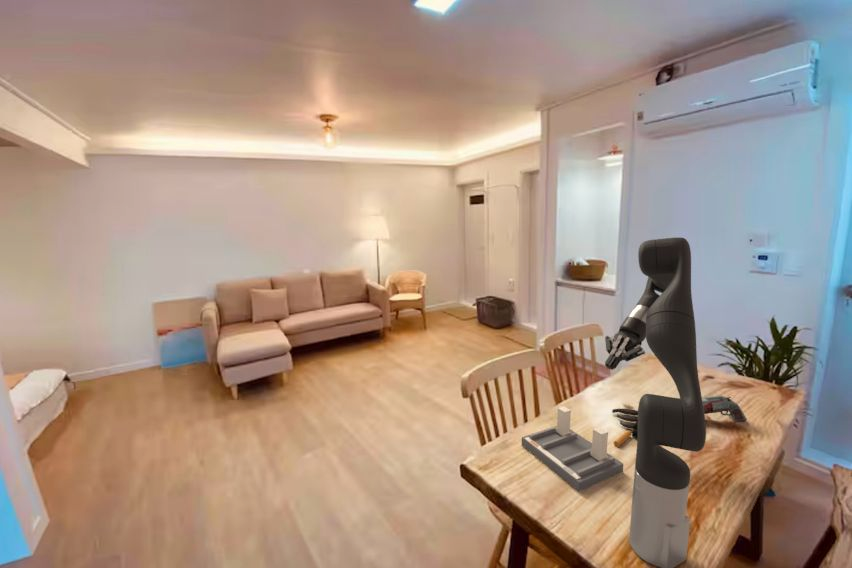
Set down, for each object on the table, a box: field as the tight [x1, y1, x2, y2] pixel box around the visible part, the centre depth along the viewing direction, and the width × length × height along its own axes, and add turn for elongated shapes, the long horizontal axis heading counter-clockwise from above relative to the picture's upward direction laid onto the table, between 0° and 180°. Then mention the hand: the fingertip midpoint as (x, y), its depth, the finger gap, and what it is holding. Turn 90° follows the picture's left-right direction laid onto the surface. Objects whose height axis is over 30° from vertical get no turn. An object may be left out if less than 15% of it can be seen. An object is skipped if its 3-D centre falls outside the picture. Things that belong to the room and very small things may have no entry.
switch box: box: [521, 425, 624, 492], centre depth 108 cm, size 22×16×4 cm
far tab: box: [556, 405, 572, 436], centre depth 115 cm, size 4×2×8 cm, turn 25°
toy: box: [611, 408, 638, 448], centre depth 121 cm, size 23×4×30 cm
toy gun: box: [679, 394, 748, 423], centre depth 126 cm, size 4×20×10 cm, turn 81°
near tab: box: [590, 426, 609, 461], centre depth 103 cm, size 4×2×8 cm, turn 25°
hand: (608, 367), depth 116 cm, fingers closed
